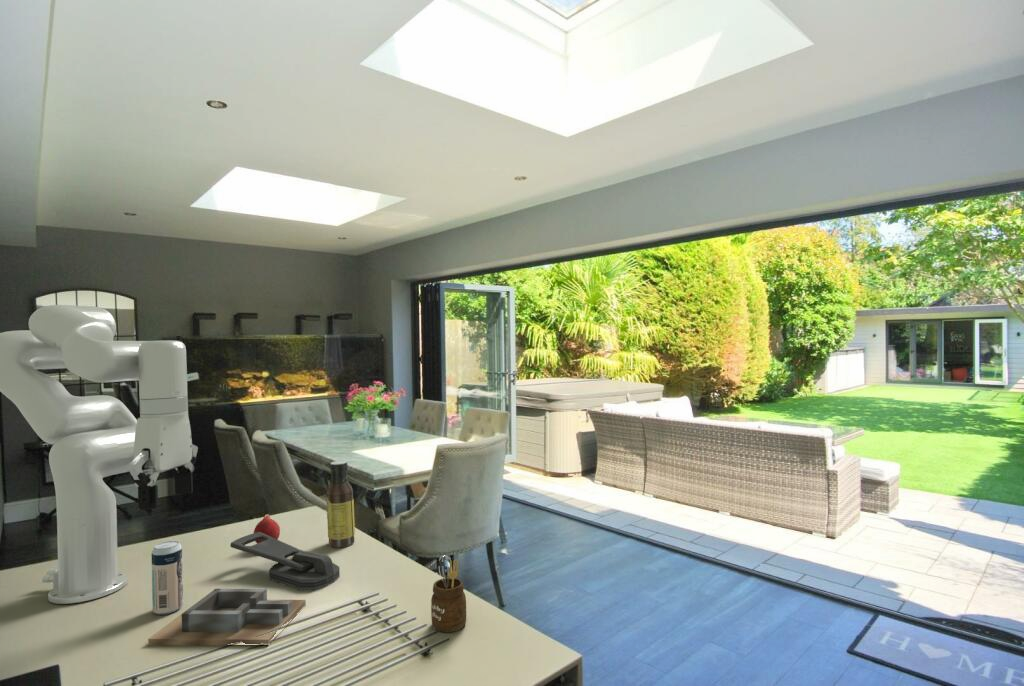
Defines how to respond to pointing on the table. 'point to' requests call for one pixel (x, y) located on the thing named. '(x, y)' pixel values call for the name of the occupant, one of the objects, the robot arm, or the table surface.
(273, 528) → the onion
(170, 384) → the robot arm
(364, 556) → the table surface
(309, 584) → the zipper pull
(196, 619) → the keyhole board
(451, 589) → the utensil holder
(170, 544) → the beer can
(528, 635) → the table surface
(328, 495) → the sauce bottle
